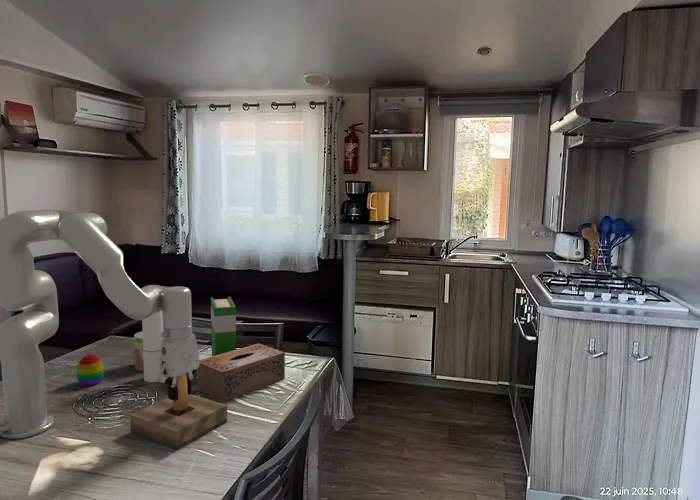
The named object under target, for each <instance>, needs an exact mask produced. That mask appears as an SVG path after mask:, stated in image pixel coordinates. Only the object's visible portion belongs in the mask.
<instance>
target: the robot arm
mask: <svg viewBox="0 0 700 500" xmlns="http://www.w3.org/2000/svg"><path fill="white" fill-rule="evenodd" d="M107 233H108V225H107V222H106V221H105V220H104V218H103V217H102V216H100V215H99V214H97V213H94V212H86V211H75V210H74V211H73V210H63V209H51V208H50V209H45V208H44V209H29V210H19V211H16V212H12V213H10V214H7V215H5V216H4V217H1V219H0V306H1V308H3V309H4V310H5V311H8V312H18V311H19V312H20V311H23V312H21V313H19V314H16V315H14V316H11V317H9V318H7V319H6V320H4V321H3V322H2V323H1V324H0V364H1V377H2V391H3V403H4V404H3V405H4V414H5V415H2V416H0V436H1V437H2V438H5V439H23V438H29V437H33V436H35V435H38V434H41V433H43V432H46V431H47V430H49V429H50V428H51V427H52V426H53V425H54V424H55V418H54V416H53V415H52V414H48V408H47V407H48V404H47V392H46V391H47V390H46V374H45V361H44V357H43V355H42V353H41V351H40V349H39V344H41V343H42V342H45V341H47V340H49V339H50V338H52V337H53V336H54V335H55V334H56V332H57V331H58V328H59V326H60V325H59V323H60V319H59V317H60V315H59V303H58V292H57V291H58V290H57V285H56V283H55V281H54V279H53V278H52V276H51V275H50V274H49V273H47V272H45V271H44V270H40V269H39V270H38V269H37V270H36V269H35V262H34V261H35V259H34V256H33V254H32V251H31V250H30V248H29V245H31V244H34V243H41V242H45V241H53V240H55V241H56V240H58V241H63V242H64V243H65V245H67V246H68V248H70V249H71V250H72V251H73V252H74V253H75V254H76V255H77V256H78V257H79V258H80V259H81V260H82V261H83V262H84V263H85V264H86V265H87V267H89V268H90V269H91V270H92V271H93V272H94V273H95V274H96V276H97V279H98V282H99V284H100V286H101V289H102V291H103V292H104V294H105V295H106V297H107V298H108V299H109V301H111V302H112V303H113V305H115V306H116V308H117V309H118V310H119V311H120V312H122V313H123V314H124V315H125V316H127V317H129V318H131V319H132V320H134V321H135V320H136V321H142V320H143V319H146V318H148V317H150V316H151V315H152V314H154V313H156V312H159V311H162V320H163V333H161V334H160V336H161V337H162V338H163V339H162V341H161V347H160V372H159V375H158V377H157V381H159V382H160V383H163V384H164V385H165V386H166V387H167V396H168V397H167V398H169V399H170V400H173V401H177V400H178V387H177V386H176V379H177V377H178V376H181V375H183V374H186V373H187V391H188V395H190V394H192V380H193V379H194V375H195V373H196V372H197V368H198V367H199V365H200V363H199V360H200V358H199V349H198V343H197V338H196V335H195V333H193V316H192V313H193V312H192V311H193V310H192V291H191V289H190V288H189V287H186V286H180V285H179V286H178V285H177V286H176V285H175V286H163V285H157V284H149V285H145V286H142V288H140V287H139V286H138V285H136V284H135V282H133V280H132V279H131V278H130V276H129V275H128V274H127V272H126V271H125V266H124V252H123V251H122V249H121V248H120V247H119V246H118V245H116V244H115V243H114V242H113V240H111V238H109V237H108V236H107ZM165 375H166V378H165Z"/></svg>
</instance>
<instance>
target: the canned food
mask: <svg viewBox="0 0 700 500" xmlns="http://www.w3.org/2000/svg"><path fill="white" fill-rule="evenodd" d="M133 338H134V363H135V367H134V368H135V369H136V370H139V371H144V359H143V331H142V330H141V331H138V332H136V333H135V334H134V335H133Z"/></svg>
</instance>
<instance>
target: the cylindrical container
mask: <svg viewBox="0 0 700 500" xmlns="http://www.w3.org/2000/svg"><path fill="white" fill-rule="evenodd" d="M141 321H142V322H141V326H142V327H141V328H142V330H141V331H143V359H144V370H143V381H144V382H147V383H157V382H160V381H157V377H158V375H159V372H160V347H161V341H162V339H163V338H162V337H161V336H160V334H161V333H163V320H162V311H159V312H156V313H154V314H152V315H151V316H150V317H148V318H146V319H143V320H141ZM165 378H166V375H165Z"/></svg>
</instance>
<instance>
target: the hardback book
mask: <svg viewBox="0 0 700 500" xmlns="http://www.w3.org/2000/svg"><path fill="white" fill-rule="evenodd" d="M236 307H237V305H235V303H234V301H233V299H232V297H231V296H227V298H222V299H220V298H219V299H215V298H214V297H210V319H211V320H210V325H211V326H210V327H211V328H210V329H211V330H210V331H211V332H210V333H211V336H210V337H211V357H212V356H216V355H220V354H223V353H227V352H230V351H234V350H237V308H236Z"/></svg>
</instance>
